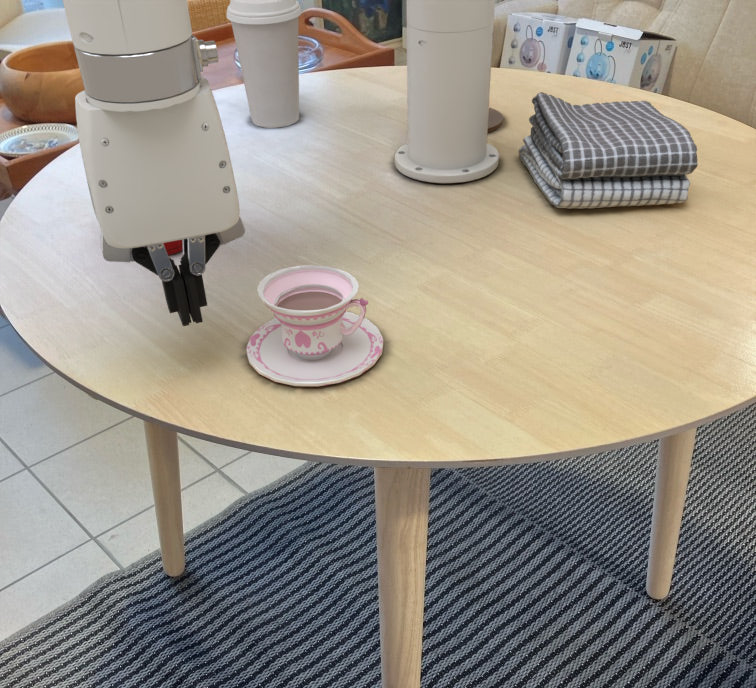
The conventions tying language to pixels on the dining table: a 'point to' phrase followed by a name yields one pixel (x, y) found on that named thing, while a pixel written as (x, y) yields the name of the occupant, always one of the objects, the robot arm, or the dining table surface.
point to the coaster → (494, 120)
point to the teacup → (313, 328)
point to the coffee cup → (268, 58)
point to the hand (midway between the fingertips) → (189, 315)
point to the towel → (607, 154)
